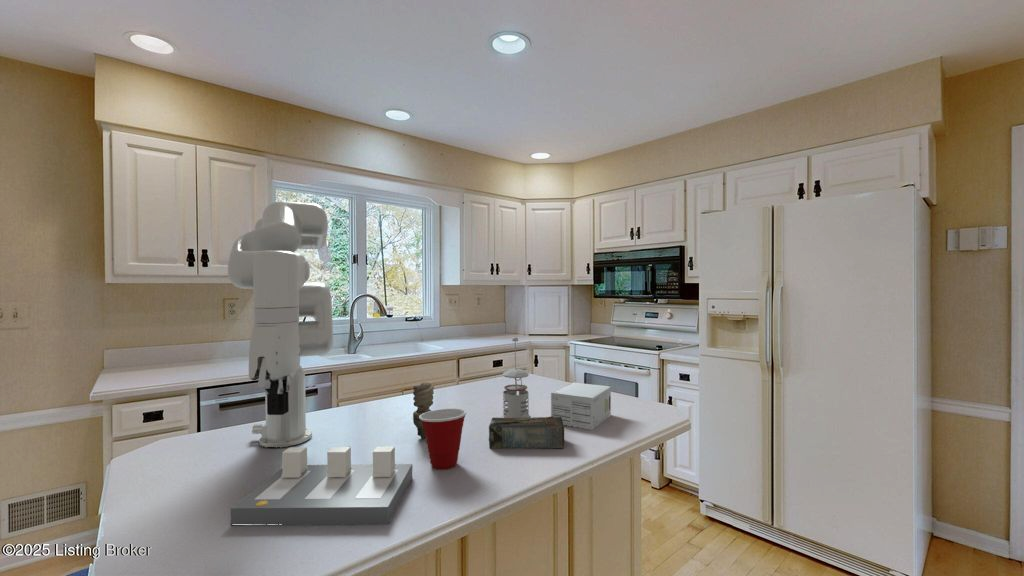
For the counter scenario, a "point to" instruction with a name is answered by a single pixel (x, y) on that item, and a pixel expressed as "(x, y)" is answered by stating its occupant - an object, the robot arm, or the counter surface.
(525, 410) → the french press
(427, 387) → the light bulb
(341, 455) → the block
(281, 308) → the robot arm
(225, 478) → the counter surface
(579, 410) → the supplement box
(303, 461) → the breaker left
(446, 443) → the plastic cup
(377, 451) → the block
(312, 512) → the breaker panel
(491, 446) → the beverage carton
